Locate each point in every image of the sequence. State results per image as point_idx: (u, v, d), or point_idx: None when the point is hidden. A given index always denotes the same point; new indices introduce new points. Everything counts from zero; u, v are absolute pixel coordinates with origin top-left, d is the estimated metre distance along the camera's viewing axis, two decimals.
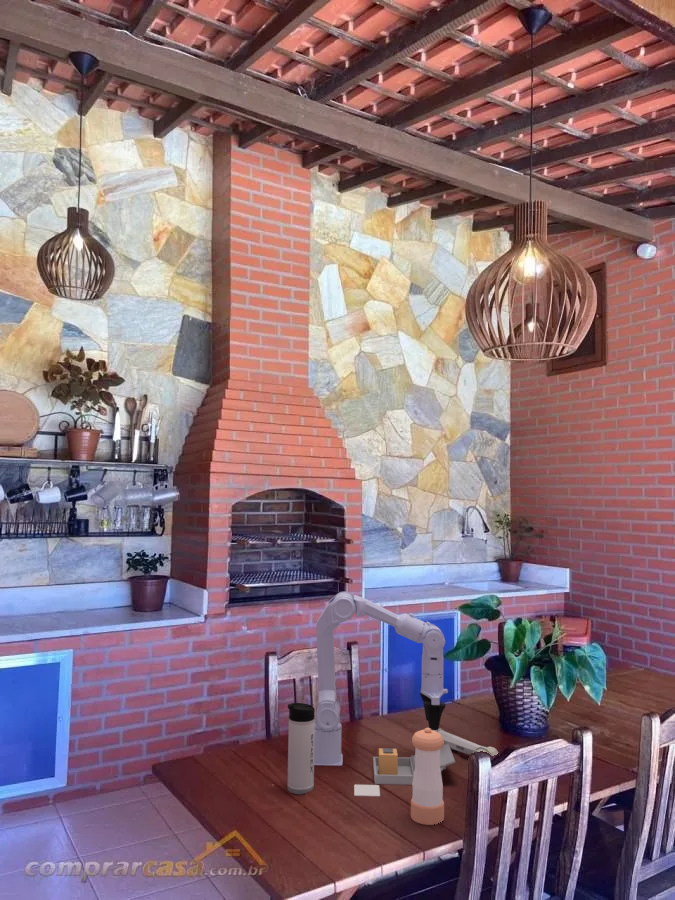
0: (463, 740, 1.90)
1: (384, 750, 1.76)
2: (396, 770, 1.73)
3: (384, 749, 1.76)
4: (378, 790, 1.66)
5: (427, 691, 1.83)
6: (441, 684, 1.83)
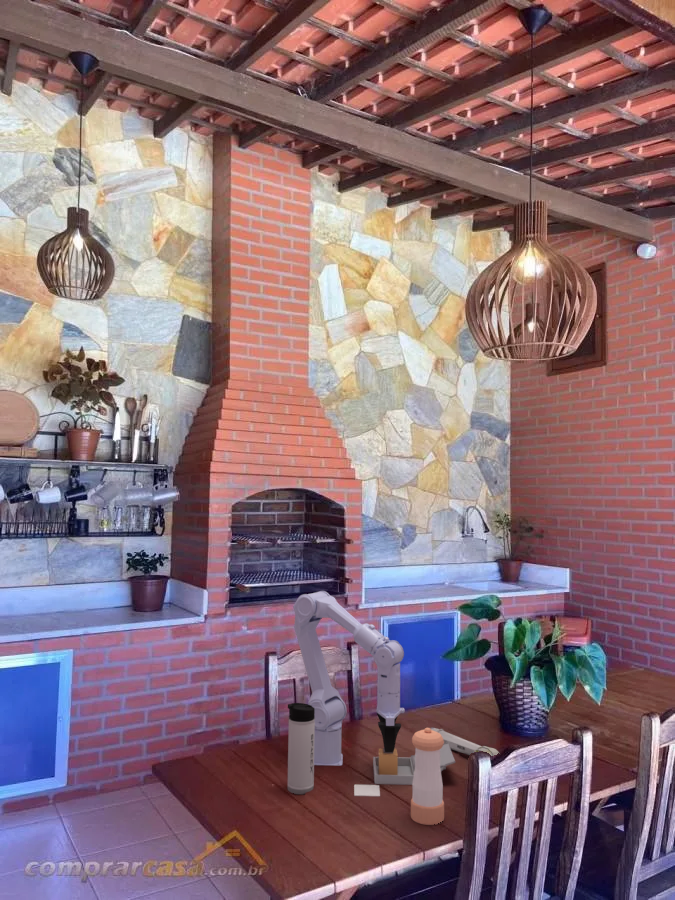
0: (465, 740, 1.90)
1: (384, 750, 1.76)
2: (396, 770, 1.73)
3: (384, 749, 1.76)
4: (378, 790, 1.66)
5: (382, 711, 1.74)
6: (397, 703, 1.75)
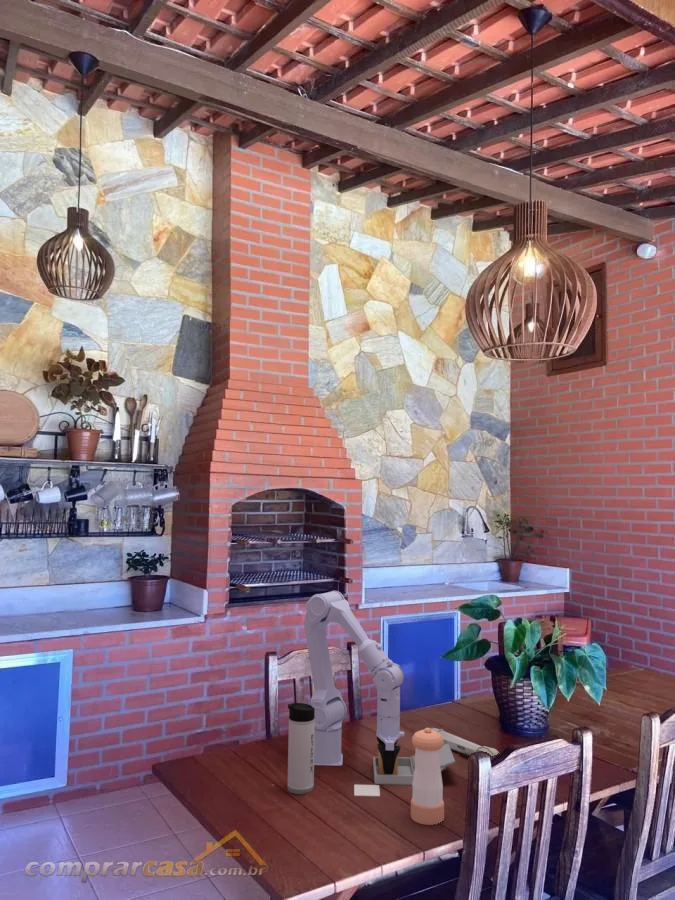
0: (465, 740, 1.90)
1: None
2: (396, 770, 1.73)
3: None
4: (378, 790, 1.66)
5: (382, 734, 1.74)
6: (397, 727, 1.74)
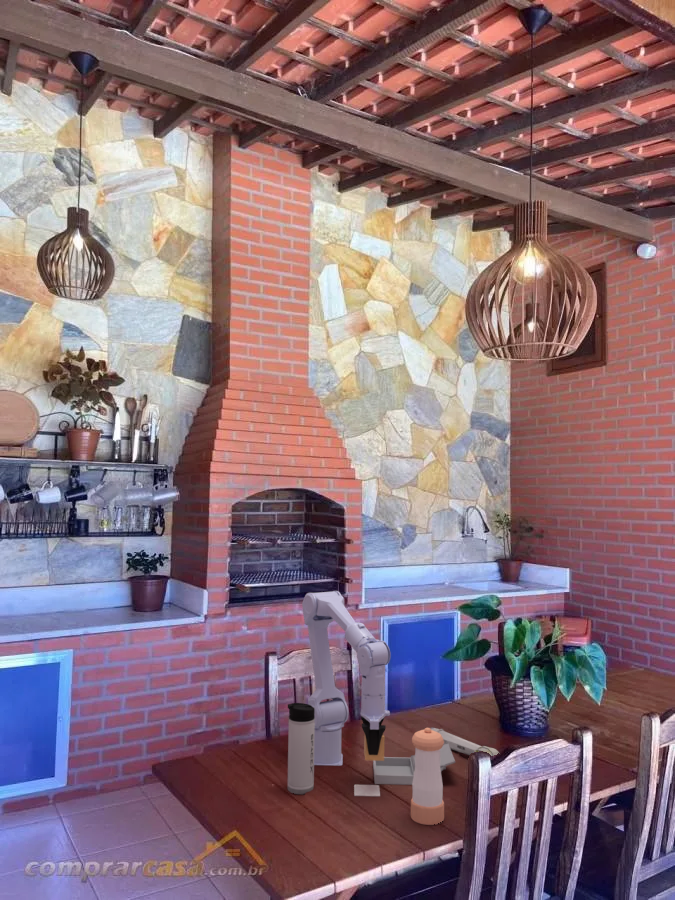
0: (465, 740, 1.90)
1: None
2: (383, 752, 1.66)
3: None
4: (378, 790, 1.66)
5: (367, 714, 1.67)
6: (382, 706, 1.67)
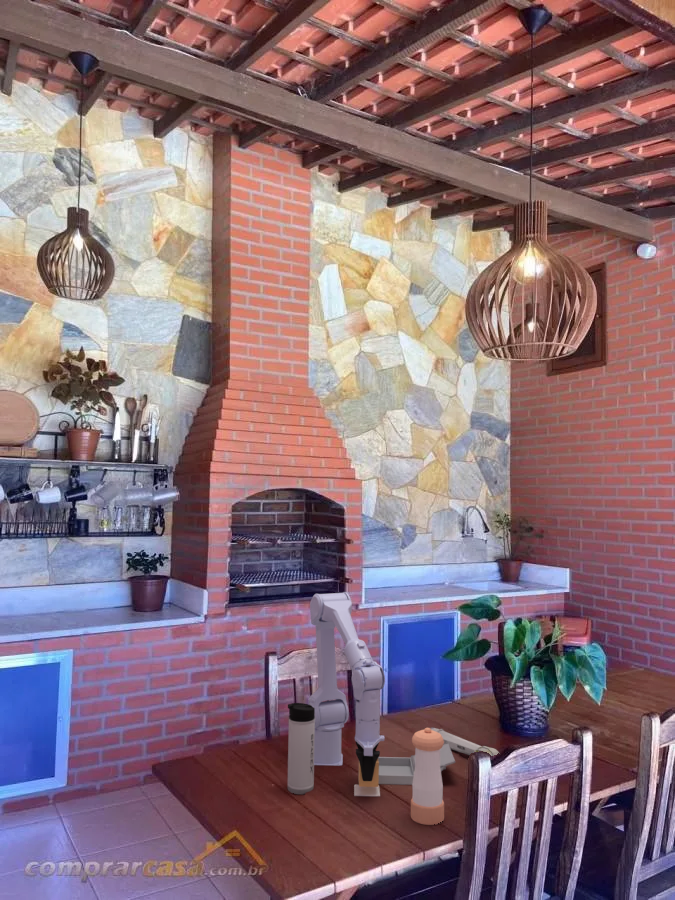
0: (465, 740, 1.90)
1: None
2: (377, 778, 1.64)
3: None
4: (378, 790, 1.66)
5: (361, 739, 1.64)
6: (377, 731, 1.65)
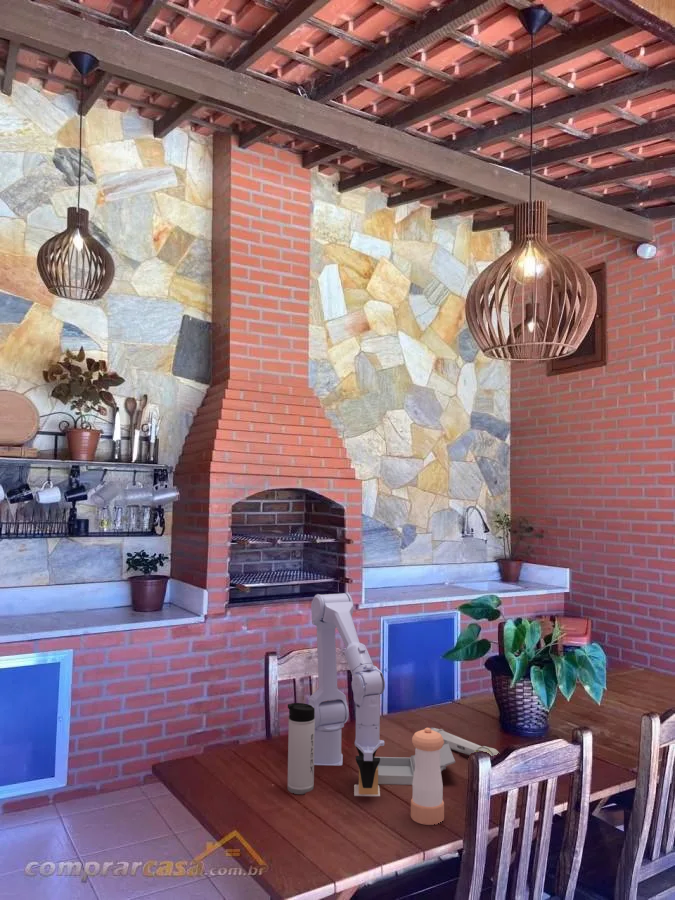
0: (465, 740, 1.90)
1: None
2: (376, 786, 1.63)
3: None
4: (378, 790, 1.66)
5: (361, 744, 1.64)
6: (376, 736, 1.65)
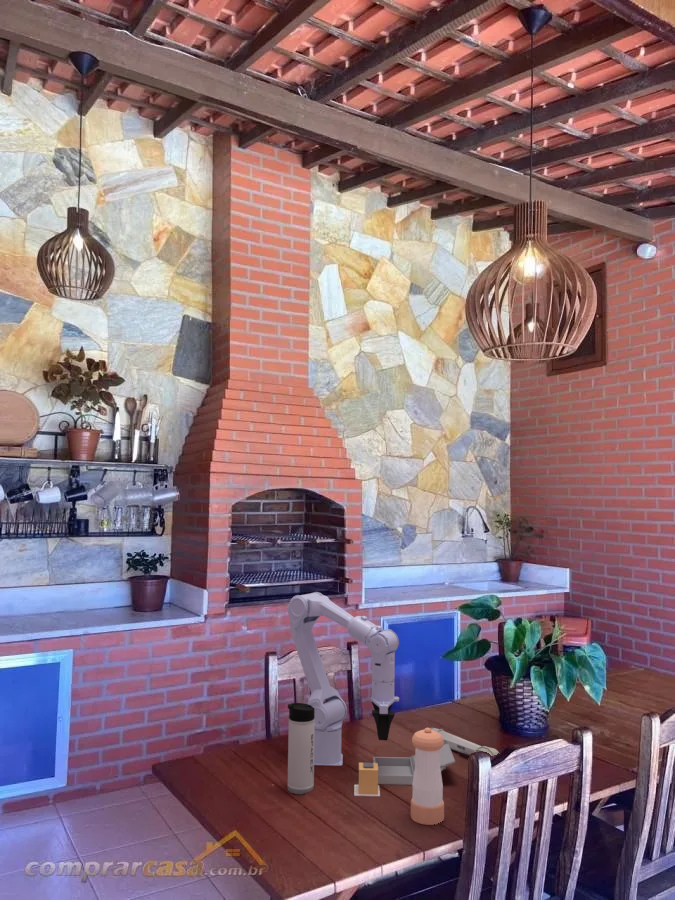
0: (465, 740, 1.90)
1: (364, 764, 1.66)
2: (376, 786, 1.63)
3: (364, 763, 1.66)
4: (378, 790, 1.66)
5: (376, 699, 1.74)
6: (391, 692, 1.75)
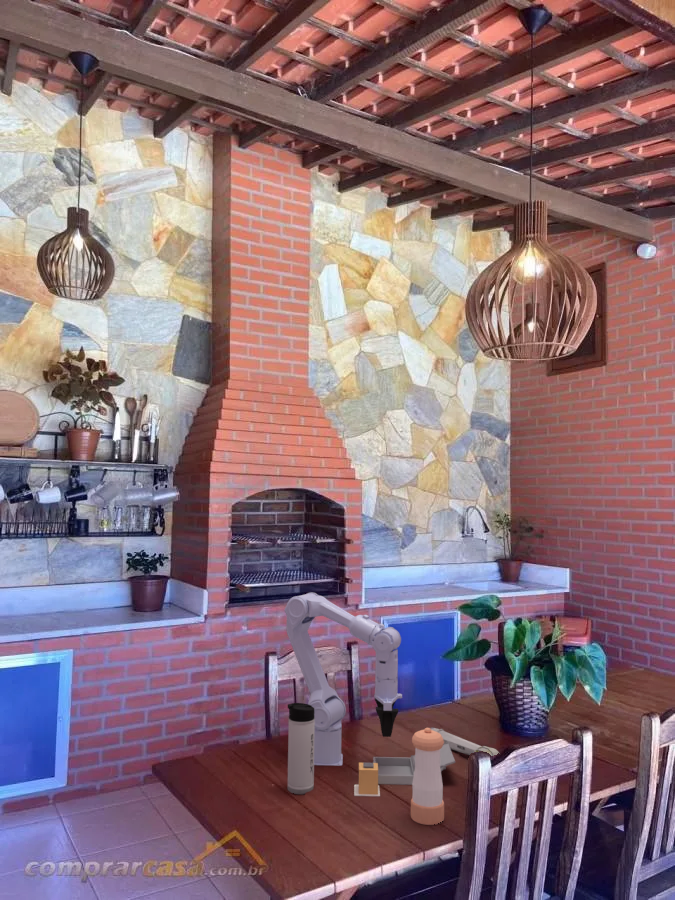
0: (465, 740, 1.90)
1: (364, 764, 1.66)
2: (376, 786, 1.63)
3: (364, 763, 1.66)
4: (378, 790, 1.66)
5: (380, 696, 1.76)
6: (395, 689, 1.77)
